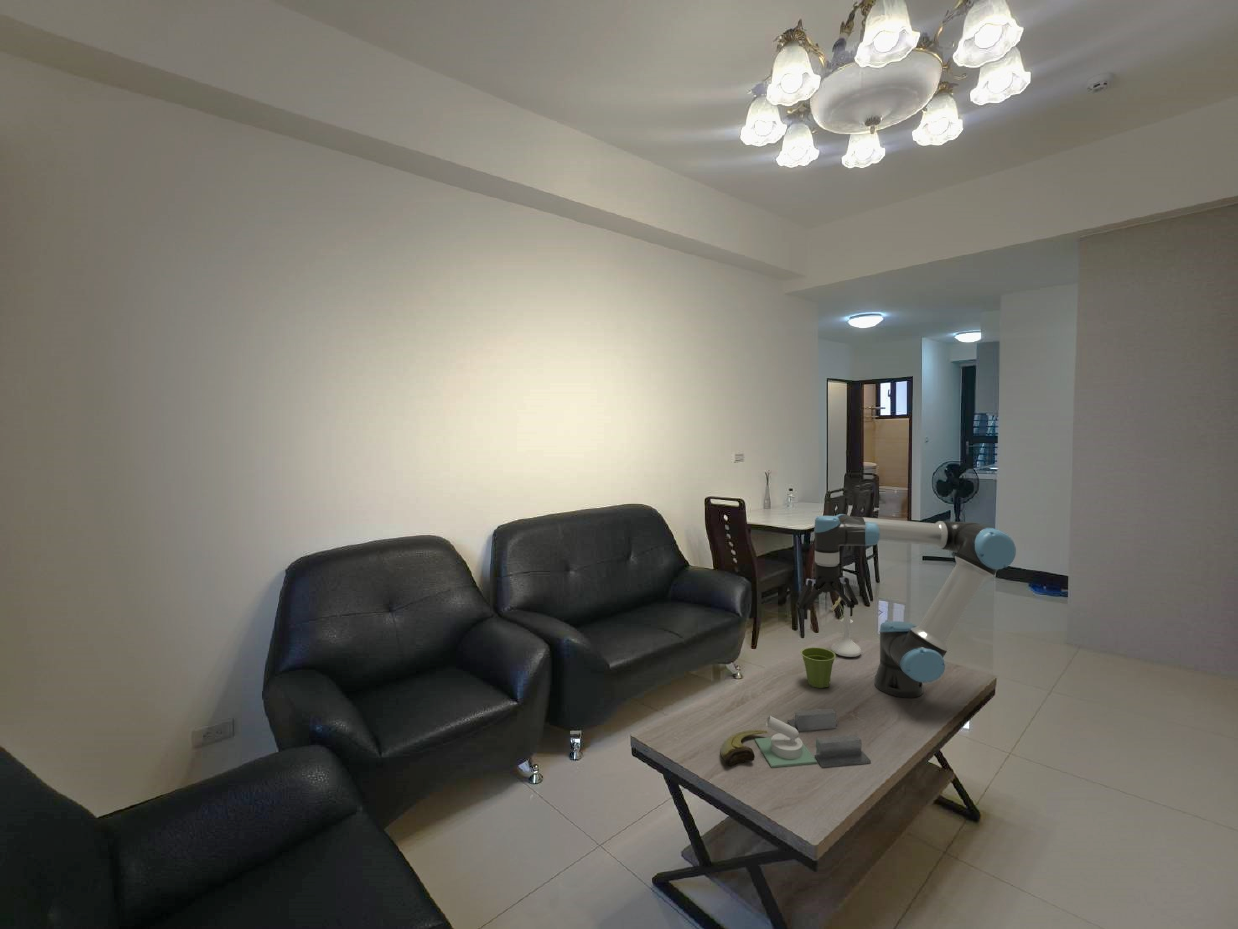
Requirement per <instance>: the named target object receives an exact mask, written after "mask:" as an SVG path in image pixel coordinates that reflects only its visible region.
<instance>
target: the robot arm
mask: <svg viewBox="0 0 1238 929" xmlns="http://www.w3.org/2000/svg"><path fill="white" fill-rule="evenodd" d="M813 531H814V532H813V533H814V563H815V564H814V576H815V577H814V579H810V578H808V577H807V578H805V581H804V585H803V588H802V590H801V592H800V594H799V597H798V598H797V601H796V603H795V606H796V607H797V608H799V609H801V618H802V619H803V620H804V623H803V624H804V628H805V630H807V631H811V610H810V609H809V608H810V607H811V606H812V605H813V603H814V602H815V601H816V599H817V598H818V597H819V595H821V594H822V593H824V594H826V593H834V592H835V594H837V595H838V597H839V596H840V598H841V601H842V602H844V605H843V611H844V617H843V618H844V625H845V626H847V627H850V628H851V625H850V619H851V617H853V615H854V614H853V609H854V608H855V606H858V605H859V601H858V599H857V596H856V595H855V593H854V590H853V589H852V587H851V585H850V579H849V577H846V576H844V575H842V576H841V577H840V565H839V564H840V547H841V546H844V547H846V546H848V547H849V546H852V547H853V546H862V547H863V546H865V547H867V546H876V545H877V544H878V543H879V541H881V542H892V543H903V544H911V545H912V544H914V545H926V546H934V547H935V548H936V549H937V550H944V551H949V552H953V553H956V554H954V559H955V566H954V568H953V569H952V571H951V573H950V574H949V576H948V577H947V579H946V580H945V583H944V584H943V585H942V587H941V588H940V590H939V592H938V594H937V596H935V598H934V600H933V602H932V604H931V605H930V606H929V608H928V610H927V611H926V613H925V614H924V616H923V619H922V620H921V621H920V623H919V625H918V626H917V625H916V624H914V623H911V622H906V621H897V620H890V621H884V622H881V624H880V627H879V665H878V668H877V670H876V672H875V675H874V686H875V687H876V688H877V689H878V690H879V691H881V692H883V693H884V694H887V695H890V696H895V697H898V698H907V699H908V698H917V697H920V696H921V695H922V694H923V693H924V685H923V683H932V682H935V681H937V680H938V679H940V678H941V677H942V676H943V674H944V673H945V670H946V663H945V659H944V657H945V655H946V654H947V652H948V647H947V642H948V640H949V638H950V636H951V635H952V633H953V631H954V630H955V628H956V627H957V625H958V624H959V622H960V620H961V619H962V617H963V615H964V614H965V612H966V611H967V608H968V607H969V606H970V604H971V603H972V601H973V599H974V598H975V596H976V595H977V593H978V591H979V590H980V588H981V586H982V585H983V583H984V581H985V580H986V579H988V578H992V577H994V576H995V575H996V573H997V571H998V570H1002V569H1004V568H1008V567H1009V566H1010V565H1011V564H1013V562H1014V561H1015V558H1016V555H1017V554H1016V553H1017V548H1016V546H1015V542H1014V540H1013V539H1012V538H1011V537H1010V536H1009V534H1007V533H1005V532H1003V531H1001V530H999V529H997V528H995V527H994V528H993V527H991V526H990V527H989V526H987V525H982V524H981V523H977V522H972V521H970V522H969V521H944V520H938V521H936V522H935V523H932V522H920V521H912V520H911V521H910V520H898V519H886V518H875V517H865V516H864V517H863V516H860V517H859V516H851V515H848V514H844V513H839V514H836V515H819V516H817V517H815V519H814V529H813ZM840 583H841V584H842V586H843V588H844V590H845V592H846V594H847V596H846V595H845V593H843V591H842V590H841V589H840V586H839V585H840ZM814 585H815V586H814ZM812 587H813V589H812ZM811 590H812V591H811ZM845 604H846V605H845Z"/></svg>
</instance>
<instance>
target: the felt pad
mask: <svg viewBox="0 0 1238 929" xmlns="http://www.w3.org/2000/svg"><path fill="white" fill-rule="evenodd" d="M771 738H772V736H769V737H760V738H759V737H758V738H757V737H756V738H754V741H755V743H756V745H757V747H758V748H759V750H760V751H761V753H762V755H763V756H764V758H765V760H766V761H767V763H768V764H769V766H770V768H772V769H773V768H783V767H785V768H786V767H795V766H805V765H815V764H818V762H817V760H816V759H815V756H814V755H813V754H812V753H811V752H810V750H809V749H808V748H807V746H806V745H805V743H803V741H802V744H803V753H802V755H801V756H800V757H799V758H796V759H785V758H781V757H779V756H777V755H776V754H774V753H773V752H772V750H771ZM798 738H800V737H799V736H798Z"/></svg>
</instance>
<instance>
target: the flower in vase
mask: <svg viewBox="0 0 1238 929" xmlns="http://www.w3.org/2000/svg"><path fill="white" fill-rule="evenodd" d="M841 601H842V599H841V598H840V596H839V595H838V599H837V600H835V603H834V605H832V606H831V609H830V610H831V611H833V612H834V610H835V609H836V608H837V606H840V609H841V610H842V614H841V616H840V617H839V620H838V621H839V622H840V623H841V625H842V626H841V627H842V638H840V639H839V640H837V641H836V642H834V643H833V644H832V645H831V647H830V649H831V651H832V652H834V653H835V654H837V655H838V656H841V657H847V658H853V657H858V656H860V655H861V654H862V653H863V652H862V649H861V647H860V646H859V645H858V644H857V643H855V642H854V641H853V640H852V638H850V630H851V629H850V628H851V625H852V623H853V622H854V620H852V619H851V618H850V627H847V626H845V625H844V607H843V606H842V605H841Z"/></svg>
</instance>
